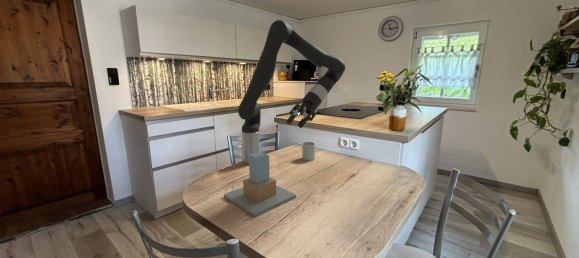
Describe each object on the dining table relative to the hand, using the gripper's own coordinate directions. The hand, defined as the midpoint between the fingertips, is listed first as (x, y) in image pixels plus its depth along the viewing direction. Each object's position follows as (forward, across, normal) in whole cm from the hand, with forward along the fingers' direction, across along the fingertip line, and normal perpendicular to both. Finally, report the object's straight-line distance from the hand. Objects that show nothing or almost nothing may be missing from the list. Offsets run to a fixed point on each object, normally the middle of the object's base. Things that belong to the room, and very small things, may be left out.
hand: (293, 124), depth 108 cm
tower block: (+27, +5, 0) cm, 27 cm away
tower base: (+32, +5, +5) cm, 33 cm away
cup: (0, -22, +38) cm, 44 cm away
